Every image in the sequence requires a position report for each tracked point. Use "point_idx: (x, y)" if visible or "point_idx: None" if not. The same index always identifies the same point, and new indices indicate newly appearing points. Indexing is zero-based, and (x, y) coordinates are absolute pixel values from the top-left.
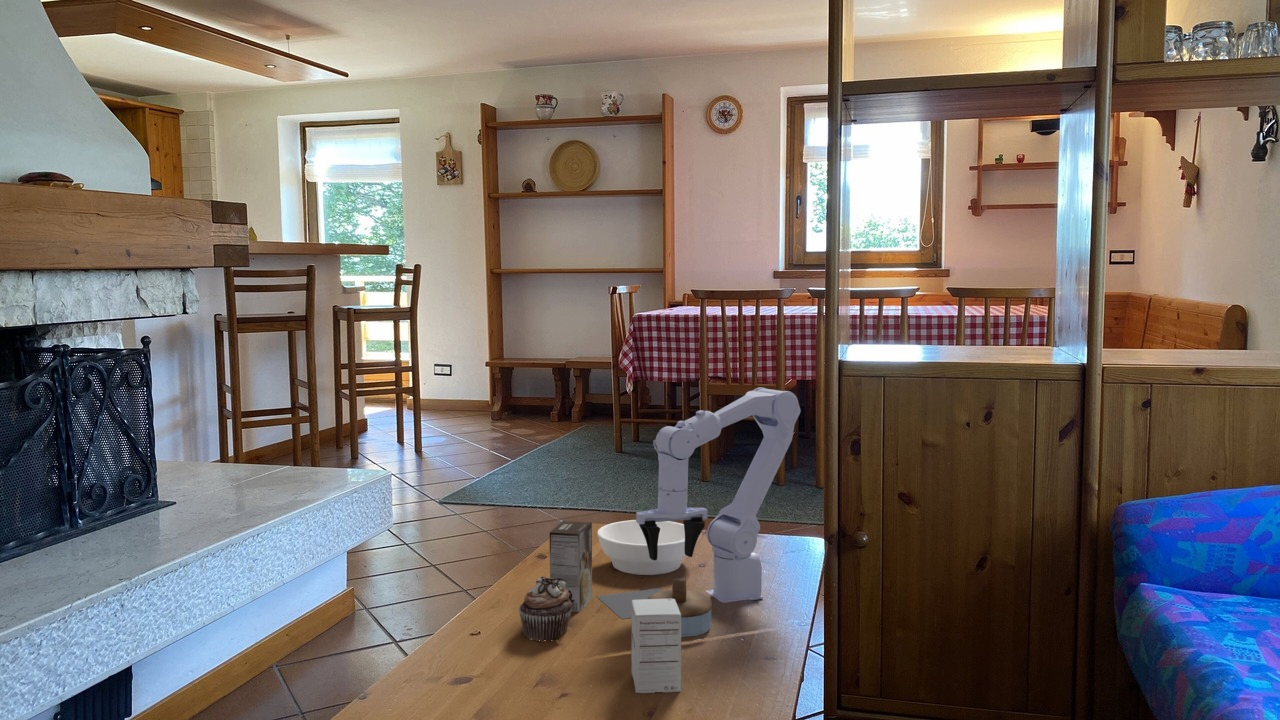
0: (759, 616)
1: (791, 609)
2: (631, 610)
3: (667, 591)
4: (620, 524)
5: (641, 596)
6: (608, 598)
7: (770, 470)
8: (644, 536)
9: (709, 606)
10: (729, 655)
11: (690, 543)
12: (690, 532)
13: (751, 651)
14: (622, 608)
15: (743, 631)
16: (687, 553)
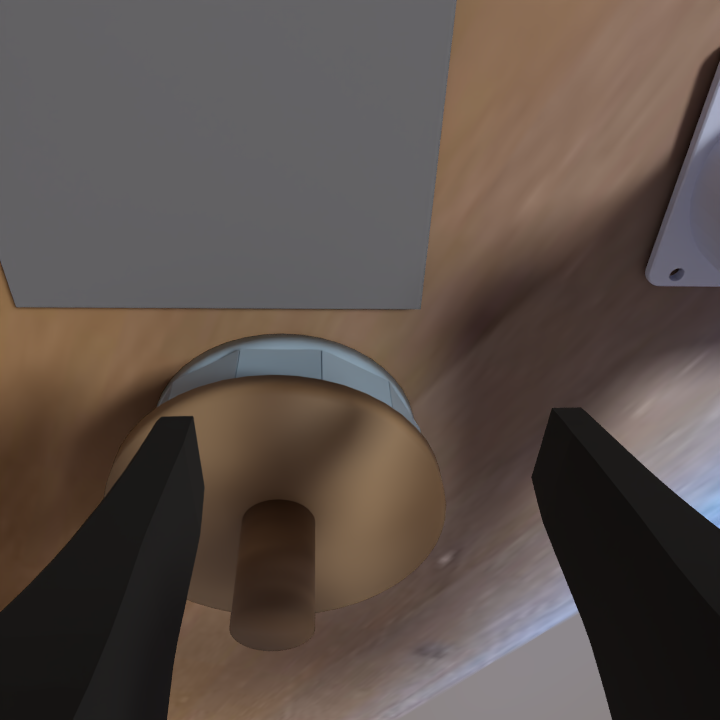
0: (663, 435)
1: None
2: (96, 209)
3: (277, 406)
4: None
5: None
6: None
7: None
8: (20, 598)
9: (382, 588)
10: (334, 622)
11: (582, 587)
12: (638, 700)
13: (410, 618)
14: (42, 154)
15: (493, 520)
16: (547, 465)
